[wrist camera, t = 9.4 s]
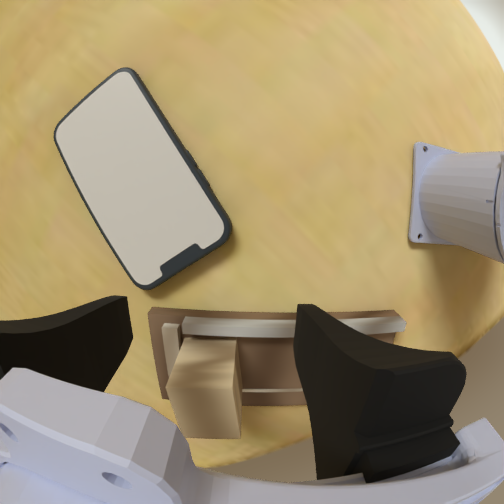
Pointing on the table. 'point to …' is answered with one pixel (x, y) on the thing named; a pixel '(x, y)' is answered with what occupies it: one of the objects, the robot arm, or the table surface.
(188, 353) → the block
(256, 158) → the table surface
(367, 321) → the board
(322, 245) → the table surface
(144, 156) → the smartphone
